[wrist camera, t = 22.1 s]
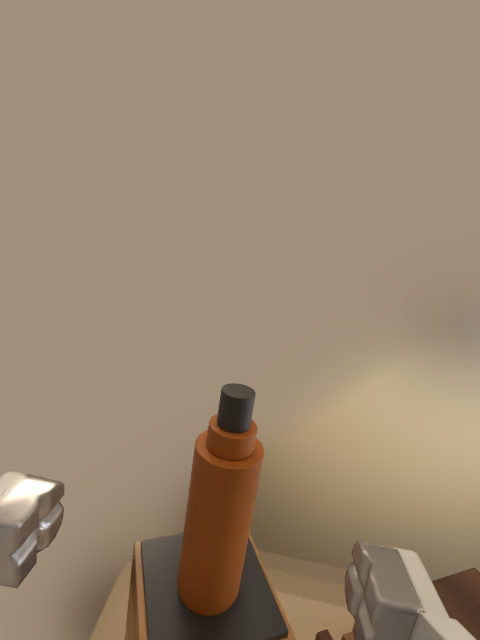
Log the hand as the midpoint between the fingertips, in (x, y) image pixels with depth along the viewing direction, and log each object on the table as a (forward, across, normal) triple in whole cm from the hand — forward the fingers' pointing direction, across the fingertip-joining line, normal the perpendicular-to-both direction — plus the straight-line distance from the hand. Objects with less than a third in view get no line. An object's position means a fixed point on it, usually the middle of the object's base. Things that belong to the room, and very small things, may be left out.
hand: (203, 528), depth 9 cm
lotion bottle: (+12, 0, +17) cm, 21 cm away
